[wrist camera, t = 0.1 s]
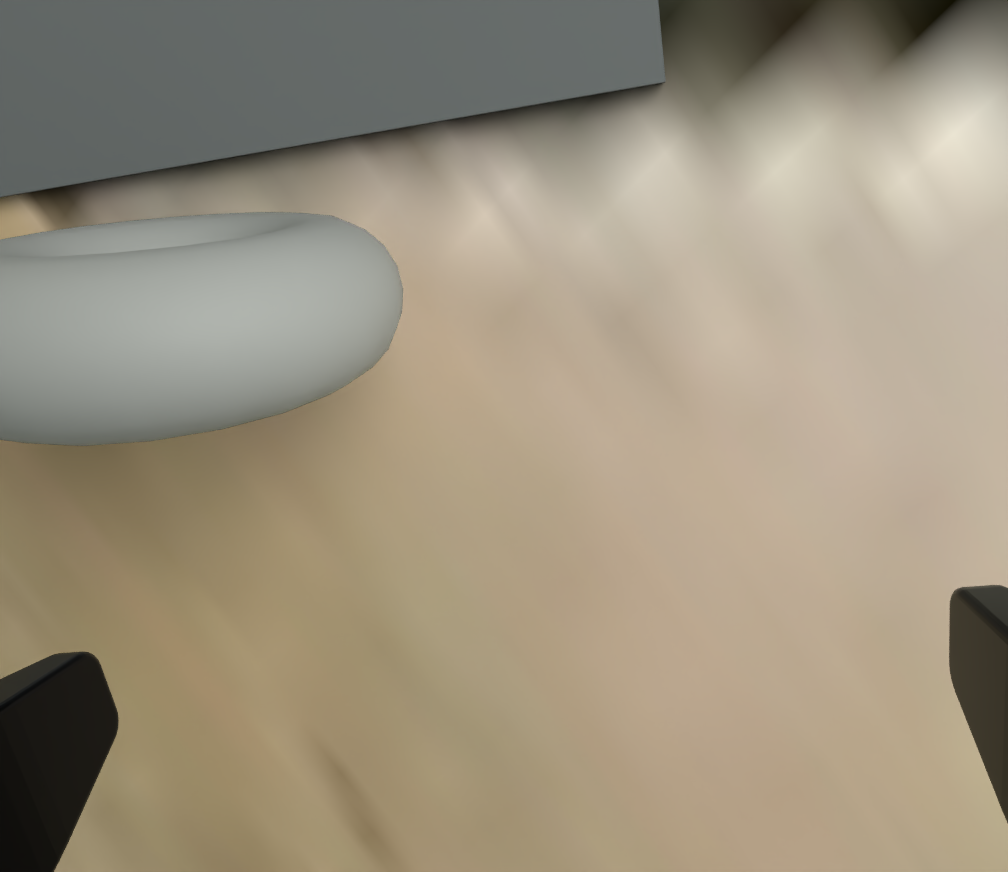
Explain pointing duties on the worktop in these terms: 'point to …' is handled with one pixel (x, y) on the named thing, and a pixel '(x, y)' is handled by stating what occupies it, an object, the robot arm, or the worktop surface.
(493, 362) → the worktop surface
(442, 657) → the worktop surface
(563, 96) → the mat
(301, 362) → the donut
